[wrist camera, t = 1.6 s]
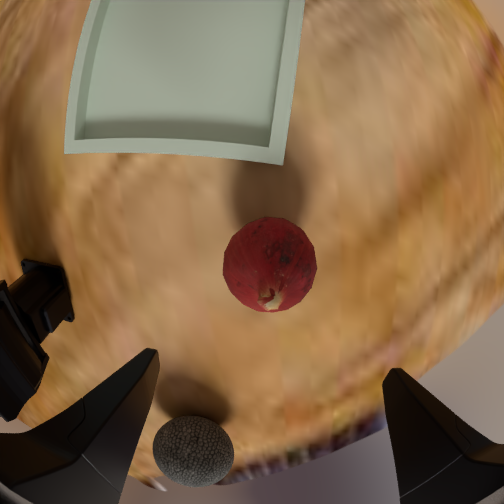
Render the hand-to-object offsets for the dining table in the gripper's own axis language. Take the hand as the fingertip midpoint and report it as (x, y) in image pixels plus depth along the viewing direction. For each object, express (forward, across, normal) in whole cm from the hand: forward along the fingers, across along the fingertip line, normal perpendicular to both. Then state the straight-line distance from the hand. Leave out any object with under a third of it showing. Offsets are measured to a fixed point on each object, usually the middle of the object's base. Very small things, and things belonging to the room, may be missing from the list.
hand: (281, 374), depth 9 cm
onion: (+13, 0, 0) cm, 13 cm away
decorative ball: (+13, +5, +26) cm, 29 cm away
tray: (+12, +8, -14) cm, 20 cm away
